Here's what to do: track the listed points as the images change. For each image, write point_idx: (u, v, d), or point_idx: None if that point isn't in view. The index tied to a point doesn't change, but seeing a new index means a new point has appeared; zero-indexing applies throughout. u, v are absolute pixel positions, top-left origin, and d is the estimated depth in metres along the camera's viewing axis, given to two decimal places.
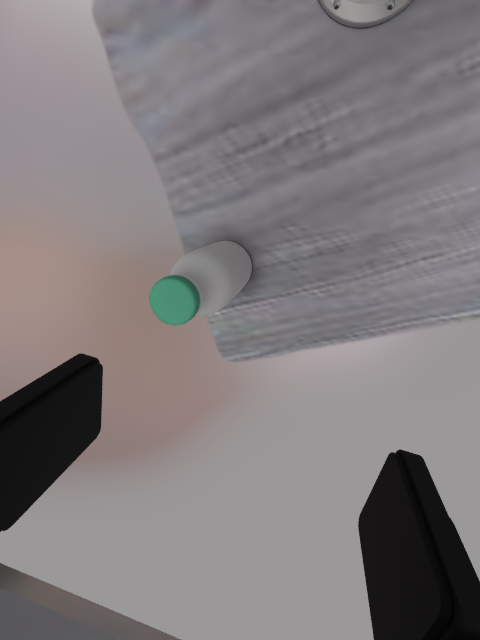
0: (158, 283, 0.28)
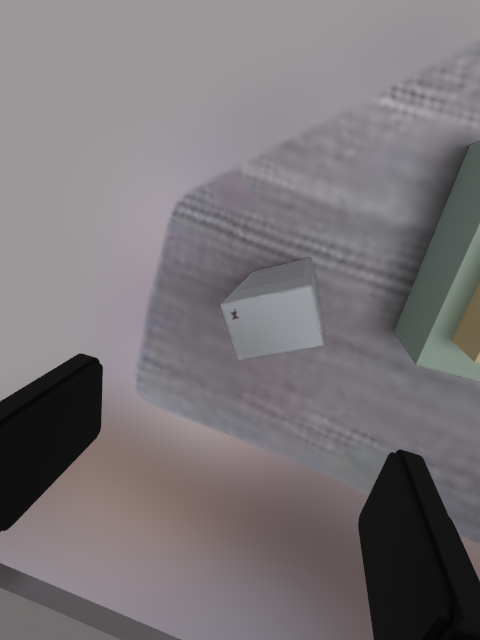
0: None
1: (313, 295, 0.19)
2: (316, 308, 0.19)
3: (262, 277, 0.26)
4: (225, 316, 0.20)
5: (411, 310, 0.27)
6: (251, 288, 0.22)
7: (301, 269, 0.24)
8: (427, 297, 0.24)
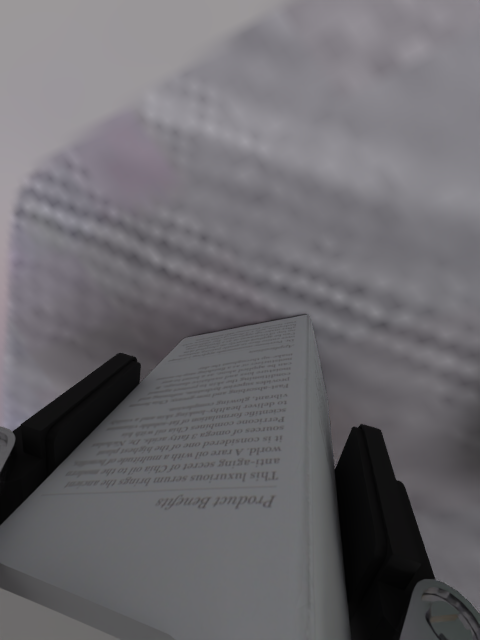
0: None
1: None
2: None
3: (173, 393, 0.09)
4: None
5: None
6: (79, 505, 0.06)
7: (279, 391, 0.08)
8: None
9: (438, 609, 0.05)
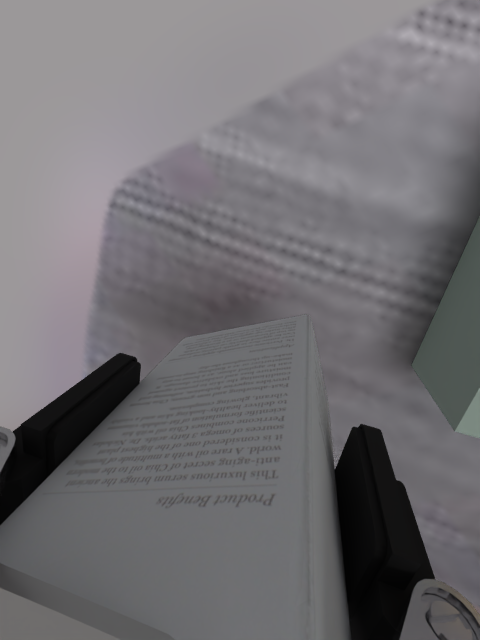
0: None
1: None
2: None
3: (174, 392, 0.09)
4: None
5: (439, 342, 0.19)
6: (80, 504, 0.06)
7: (279, 390, 0.08)
8: (468, 327, 0.17)
9: (438, 609, 0.05)
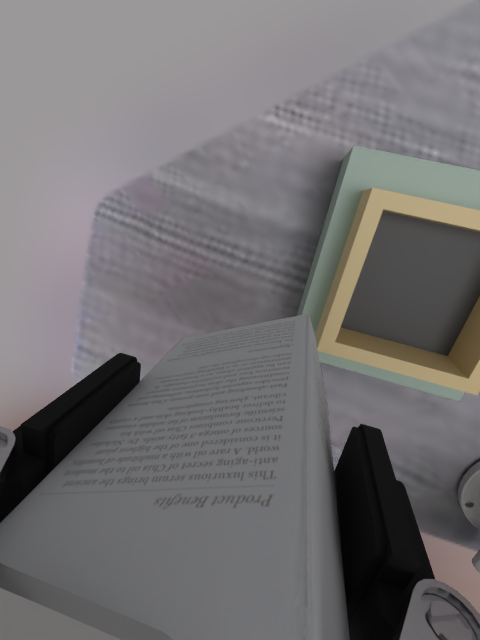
0: None
1: None
2: None
3: (172, 392, 0.09)
4: None
5: (300, 306, 0.30)
6: (78, 504, 0.06)
7: (277, 390, 0.08)
8: (305, 294, 0.28)
9: (438, 609, 0.05)
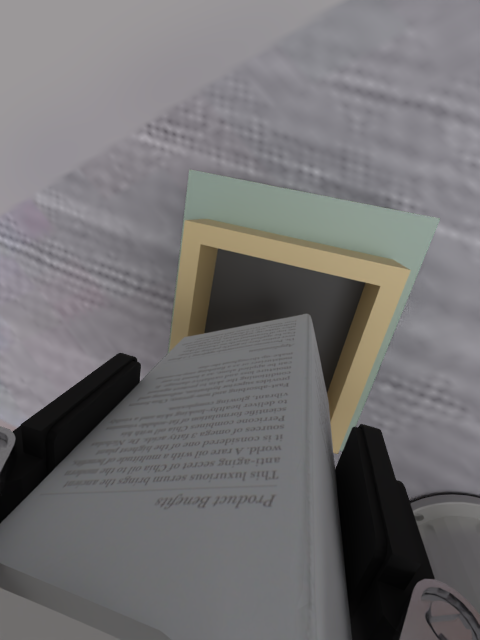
0: None
1: None
2: None
3: (173, 392, 0.09)
4: None
5: None
6: (78, 505, 0.06)
7: (279, 390, 0.08)
8: None
9: (438, 609, 0.05)
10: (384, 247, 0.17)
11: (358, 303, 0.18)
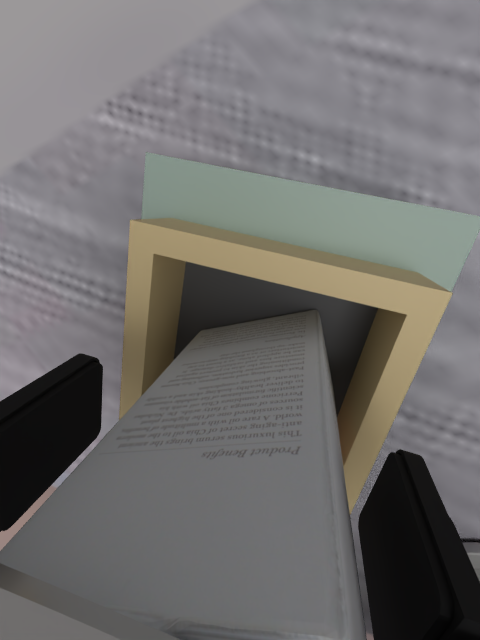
0: None
1: None
2: None
3: (200, 375, 0.10)
4: None
5: None
6: (135, 459, 0.07)
7: (295, 372, 0.09)
8: None
9: None
10: (406, 256, 0.13)
11: (370, 329, 0.14)
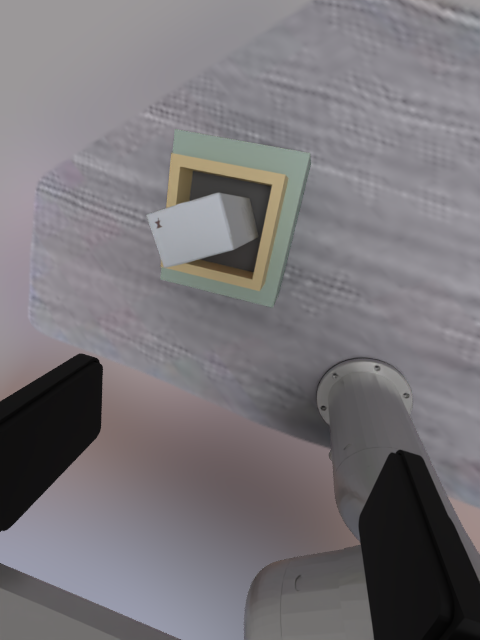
0: None
1: (221, 202, 0.21)
2: (225, 214, 0.22)
3: None
4: (150, 225, 0.23)
5: None
6: None
7: None
8: None
9: None
10: (283, 171, 0.31)
11: None
